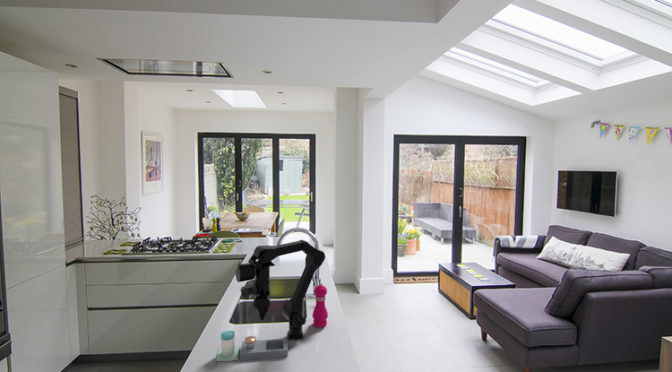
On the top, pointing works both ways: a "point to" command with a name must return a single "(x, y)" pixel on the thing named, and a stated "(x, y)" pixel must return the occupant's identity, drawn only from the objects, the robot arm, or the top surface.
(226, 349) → the cylinder
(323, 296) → the pepper mill
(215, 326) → the top surface
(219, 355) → the mat
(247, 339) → the plunger
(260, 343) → the housing
